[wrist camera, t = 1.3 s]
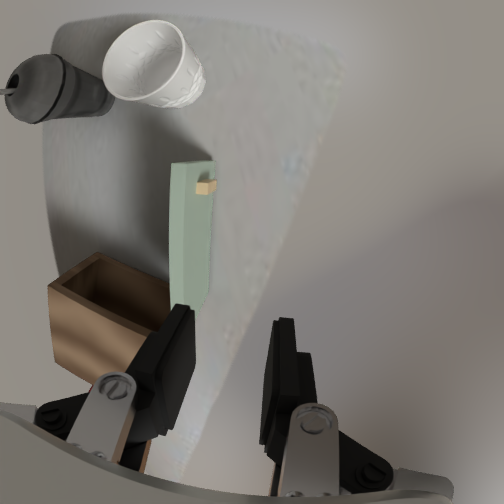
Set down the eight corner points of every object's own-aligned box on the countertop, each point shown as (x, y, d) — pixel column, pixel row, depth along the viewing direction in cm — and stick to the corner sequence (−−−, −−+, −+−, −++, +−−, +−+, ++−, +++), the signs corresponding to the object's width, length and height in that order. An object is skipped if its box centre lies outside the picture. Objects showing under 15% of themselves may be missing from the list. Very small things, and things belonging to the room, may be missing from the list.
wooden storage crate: (180, 363, 40) (158, 415, 29) (91, 322, 39) (55, 362, 29) (201, 296, 35) (175, 349, 25) (97, 251, 35) (47, 285, 24)
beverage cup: (134, 92, 27) (8, 57, 8) (99, 137, 29) (-32, 145, 10) (104, 64, 26) (-11, 27, 7) (72, 107, 28) (-47, 102, 9)
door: (198, 295, 35) (173, 346, 25) (204, 160, 29) (171, 163, 19) (216, 298, 34) (195, 350, 25) (224, 161, 29) (199, 164, 19)
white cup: (158, 125, 29) (113, 116, 19) (140, 71, 26) (95, 49, 17) (221, 97, 27) (197, 73, 18) (199, 43, 25) (171, 6, 15)
